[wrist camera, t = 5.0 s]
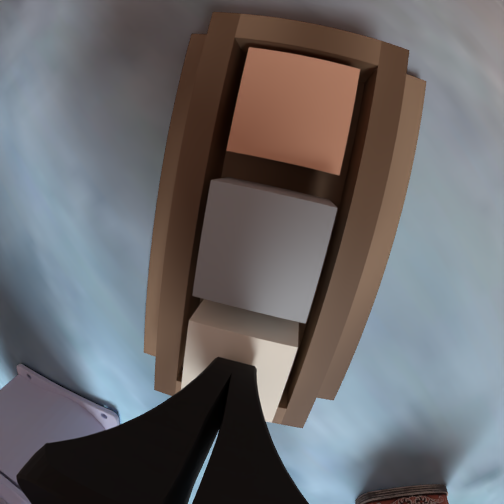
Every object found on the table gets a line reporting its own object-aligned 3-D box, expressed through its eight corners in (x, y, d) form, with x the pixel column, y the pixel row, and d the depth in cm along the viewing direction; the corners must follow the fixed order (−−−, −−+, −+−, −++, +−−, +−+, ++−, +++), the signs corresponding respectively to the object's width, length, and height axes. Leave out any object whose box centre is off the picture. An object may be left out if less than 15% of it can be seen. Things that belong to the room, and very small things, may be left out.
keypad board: (148, 346, 16) (123, 378, 13) (196, 38, 12) (171, 11, 9) (332, 393, 15) (336, 433, 12) (421, 84, 11) (449, 66, 8)
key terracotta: (240, 153, 12) (226, 150, 10) (258, 67, 11) (249, 47, 9) (331, 173, 12) (339, 175, 9) (349, 86, 11) (360, 69, 8)
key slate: (211, 271, 12) (192, 295, 10) (228, 177, 11) (211, 180, 9) (304, 293, 12) (305, 323, 10) (329, 199, 11) (337, 207, 9)
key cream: (197, 364, 13) (179, 398, 11) (208, 292, 12) (188, 320, 10) (277, 385, 13) (271, 422, 11) (298, 314, 12) (298, 347, 10)
